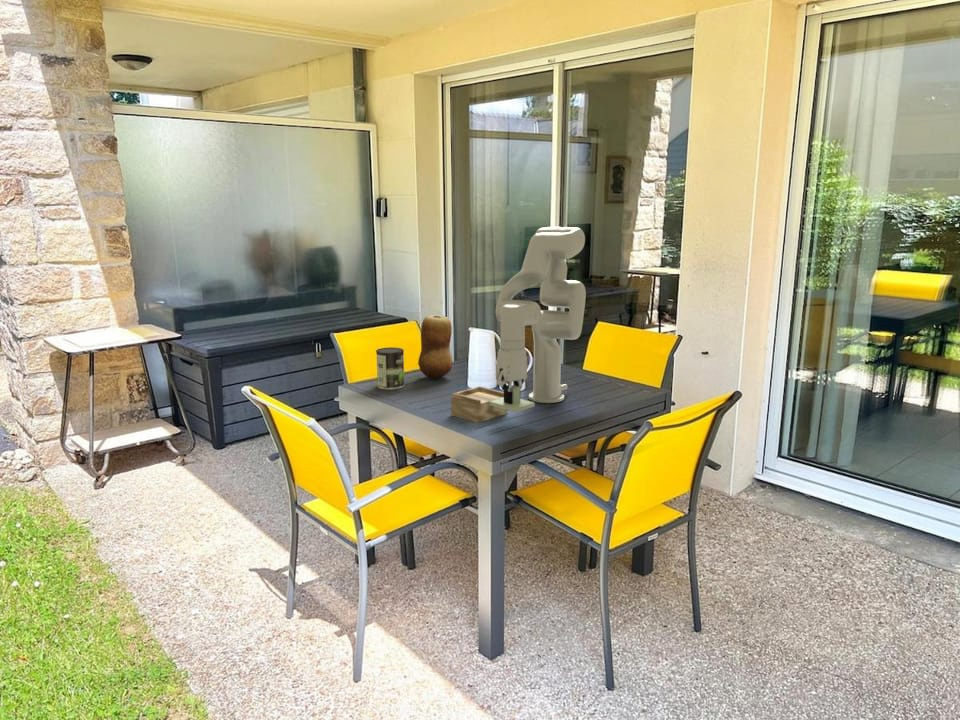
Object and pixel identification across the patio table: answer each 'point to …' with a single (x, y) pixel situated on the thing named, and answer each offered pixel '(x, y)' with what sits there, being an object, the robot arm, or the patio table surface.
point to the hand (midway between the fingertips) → (512, 401)
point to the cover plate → (513, 406)
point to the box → (476, 404)
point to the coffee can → (390, 368)
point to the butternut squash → (435, 347)
